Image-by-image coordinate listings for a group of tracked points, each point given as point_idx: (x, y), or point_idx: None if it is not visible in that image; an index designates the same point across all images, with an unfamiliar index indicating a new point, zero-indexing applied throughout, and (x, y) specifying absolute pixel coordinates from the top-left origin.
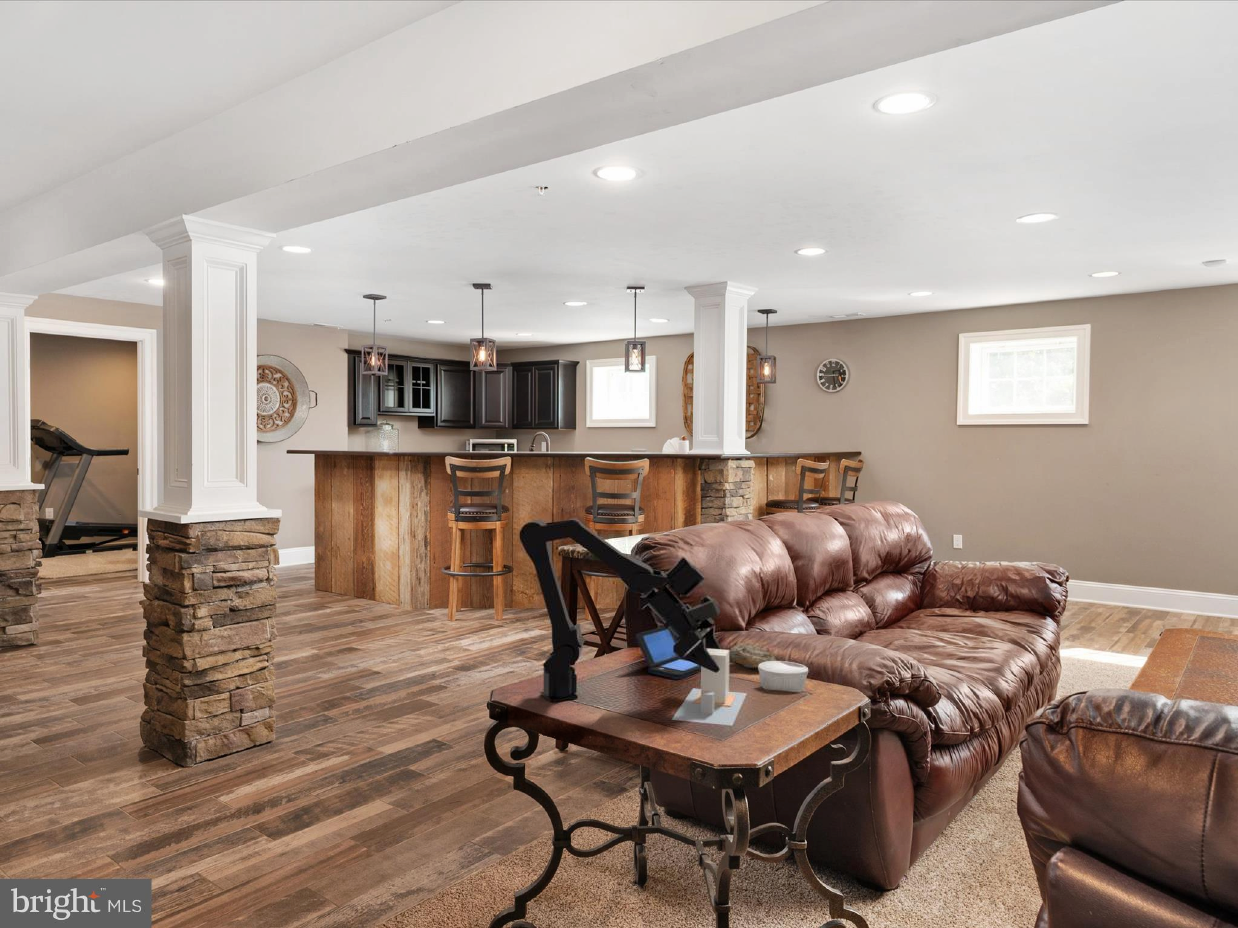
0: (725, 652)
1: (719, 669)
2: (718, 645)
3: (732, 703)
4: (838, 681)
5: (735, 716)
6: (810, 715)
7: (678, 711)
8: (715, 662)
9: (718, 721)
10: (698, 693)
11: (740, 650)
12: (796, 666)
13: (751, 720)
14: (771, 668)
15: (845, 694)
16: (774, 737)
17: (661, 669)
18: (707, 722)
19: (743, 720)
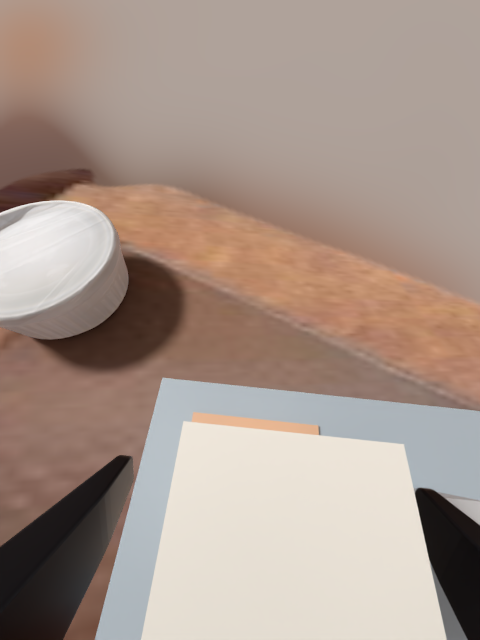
0: (280, 455)
1: (428, 488)
2: (12, 577)
3: (280, 421)
4: (32, 197)
5: (401, 405)
6: (271, 252)
7: None
8: (473, 541)
9: (477, 459)
10: None
11: None
12: (6, 225)
13: (353, 366)
14: (47, 279)
15: (125, 196)
16: (440, 317)
17: None
18: None
19: (363, 386)
